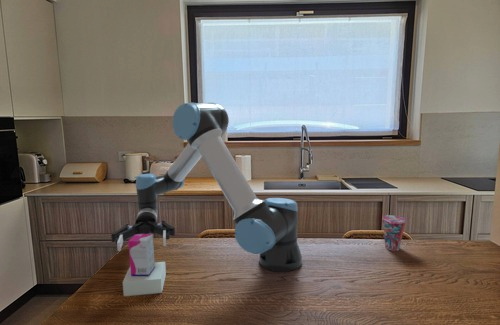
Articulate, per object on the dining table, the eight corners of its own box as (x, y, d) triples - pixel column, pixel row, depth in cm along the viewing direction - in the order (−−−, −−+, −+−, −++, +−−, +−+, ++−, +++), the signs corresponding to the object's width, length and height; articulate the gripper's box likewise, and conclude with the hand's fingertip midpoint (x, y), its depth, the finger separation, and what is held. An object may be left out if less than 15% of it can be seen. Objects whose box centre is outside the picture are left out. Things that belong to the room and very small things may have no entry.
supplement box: (155, 266, 102) (153, 233, 100) (149, 276, 97) (146, 241, 95) (138, 266, 103) (135, 233, 101) (130, 276, 97) (127, 241, 95)
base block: (166, 275, 107) (165, 261, 106) (161, 294, 96) (160, 278, 95) (132, 278, 105) (130, 264, 104) (123, 297, 95) (122, 282, 94)
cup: (378, 242, 129) (379, 214, 127) (400, 243, 127) (402, 215, 125) (384, 253, 120) (386, 223, 117) (408, 254, 118) (410, 223, 116)
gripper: (180, 227, 123) (183, 250, 103) (111, 234, 117) (99, 260, 97) (179, 208, 122) (182, 228, 101) (109, 214, 116) (97, 237, 95)
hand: (141, 244), depth 99 cm, fingers open, 13 cm apart
